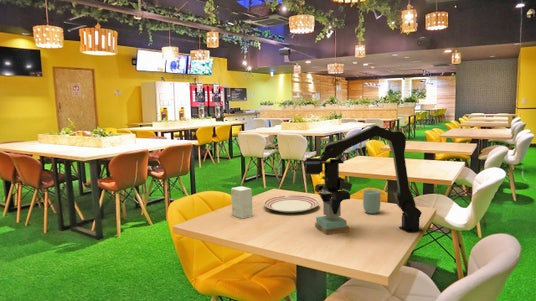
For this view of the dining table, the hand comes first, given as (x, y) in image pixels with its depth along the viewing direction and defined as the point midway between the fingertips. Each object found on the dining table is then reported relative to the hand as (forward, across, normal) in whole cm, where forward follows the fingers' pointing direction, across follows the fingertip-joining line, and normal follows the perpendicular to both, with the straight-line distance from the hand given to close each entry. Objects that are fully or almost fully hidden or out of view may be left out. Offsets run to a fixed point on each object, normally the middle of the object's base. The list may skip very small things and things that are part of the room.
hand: (331, 212), depth 153 cm
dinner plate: (+8, +37, +2) cm, 38 cm away
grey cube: (+1, 0, 0) cm, 1 cm away
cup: (+7, +13, -28) cm, 32 cm away
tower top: (+5, 0, 0) cm, 5 cm away
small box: (+7, +34, +28) cm, 45 cm away
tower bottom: (+8, 0, 0) cm, 8 cm away
